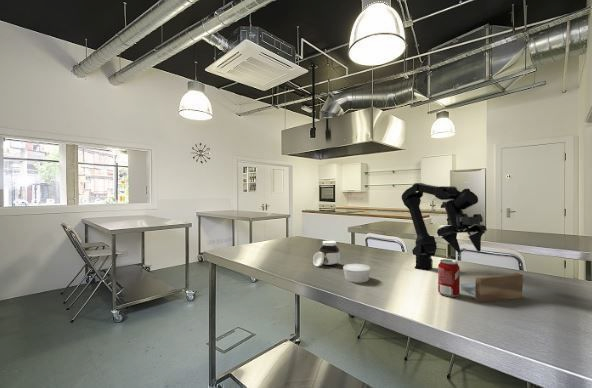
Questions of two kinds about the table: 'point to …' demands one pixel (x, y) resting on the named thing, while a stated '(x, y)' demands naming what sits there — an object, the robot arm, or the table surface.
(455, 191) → the robot arm
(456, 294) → the soda can
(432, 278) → the table surface
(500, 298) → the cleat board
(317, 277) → the table surface
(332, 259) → the spread jar
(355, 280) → the ramekin
